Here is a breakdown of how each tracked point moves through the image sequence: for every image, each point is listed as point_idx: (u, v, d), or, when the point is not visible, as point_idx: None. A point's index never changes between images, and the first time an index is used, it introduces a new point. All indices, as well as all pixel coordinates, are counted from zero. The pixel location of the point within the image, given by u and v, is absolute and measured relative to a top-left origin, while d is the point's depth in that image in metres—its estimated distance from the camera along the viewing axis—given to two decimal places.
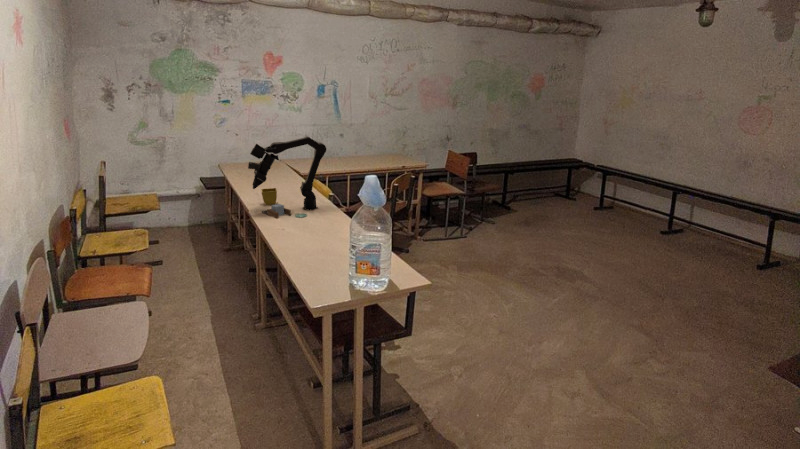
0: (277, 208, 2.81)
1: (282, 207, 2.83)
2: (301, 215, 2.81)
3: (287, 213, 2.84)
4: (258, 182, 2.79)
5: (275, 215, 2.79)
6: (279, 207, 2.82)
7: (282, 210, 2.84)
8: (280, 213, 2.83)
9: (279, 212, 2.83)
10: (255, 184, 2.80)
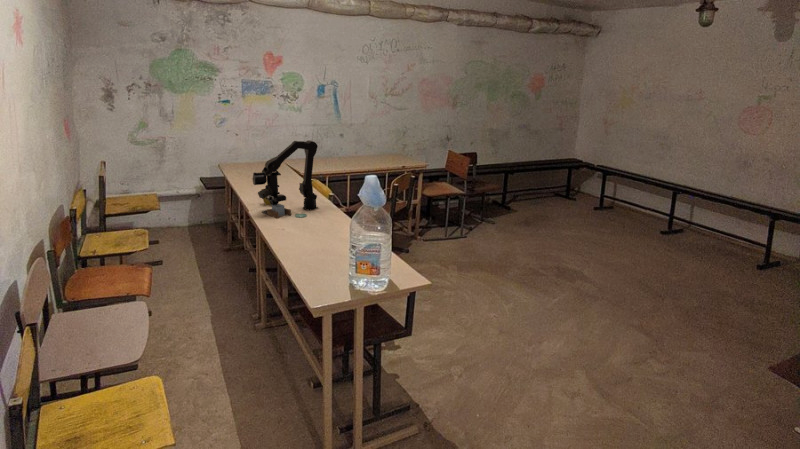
0: (278, 208, 2.80)
1: (283, 207, 2.83)
2: (301, 215, 2.81)
3: (287, 213, 2.84)
4: (275, 202, 2.85)
5: (275, 215, 2.79)
6: (280, 207, 2.81)
7: (282, 210, 2.83)
8: (280, 213, 2.83)
9: (279, 212, 2.82)
10: None
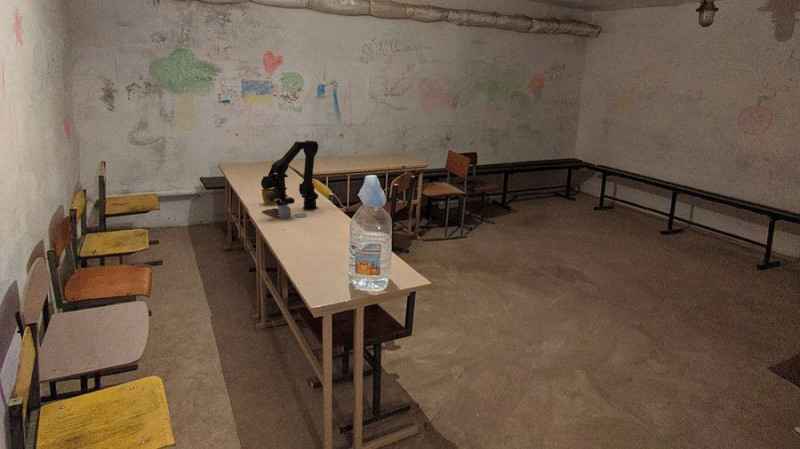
0: (283, 212, 2.75)
1: (289, 211, 2.76)
2: (301, 215, 2.81)
3: None
4: None
5: (275, 215, 2.79)
6: (286, 211, 2.75)
7: (288, 214, 2.77)
8: (285, 216, 2.78)
9: (285, 215, 2.77)
10: None
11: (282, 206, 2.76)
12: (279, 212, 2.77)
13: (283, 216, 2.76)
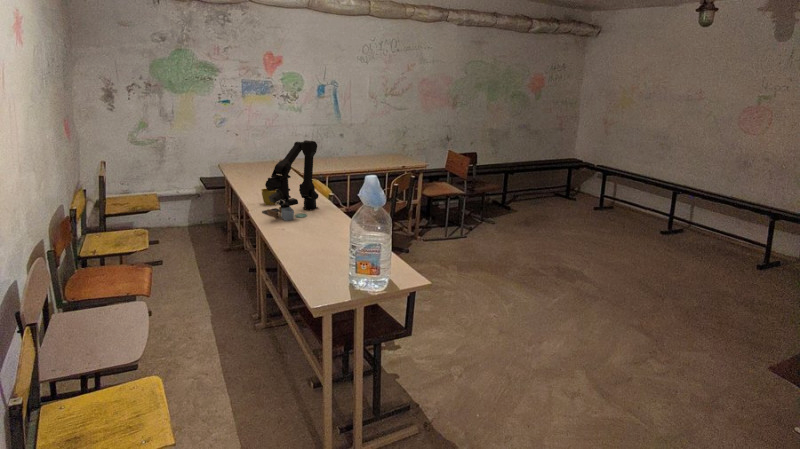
0: (286, 213, 2.72)
1: (292, 212, 2.74)
2: (301, 215, 2.81)
3: None
4: (287, 206, 2.78)
5: (275, 215, 2.79)
6: (288, 212, 2.72)
7: (291, 215, 2.74)
8: (289, 218, 2.74)
9: (288, 217, 2.73)
10: None
11: (285, 208, 2.74)
12: (282, 215, 2.74)
13: (286, 218, 2.73)
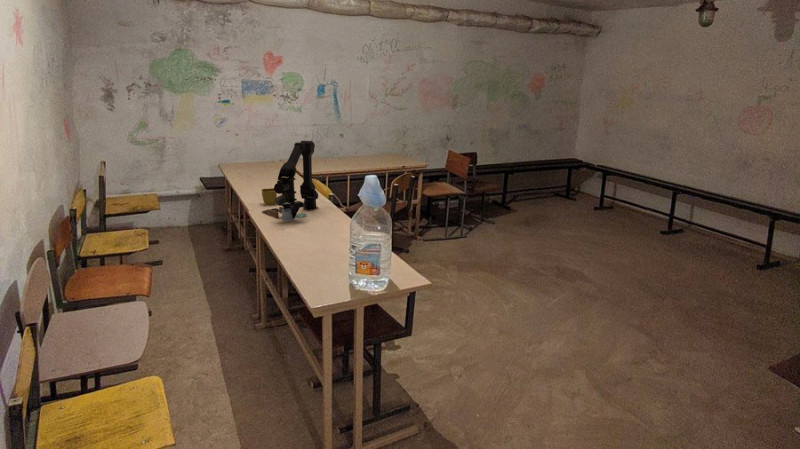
0: (286, 213, 2.72)
1: None
2: (301, 215, 2.81)
3: None
4: (295, 210, 2.72)
5: (275, 215, 2.79)
6: (289, 212, 2.72)
7: None
8: (290, 218, 2.73)
9: (289, 217, 2.73)
10: (294, 213, 2.73)
11: (285, 209, 2.75)
12: (283, 216, 2.74)
13: (287, 218, 2.73)
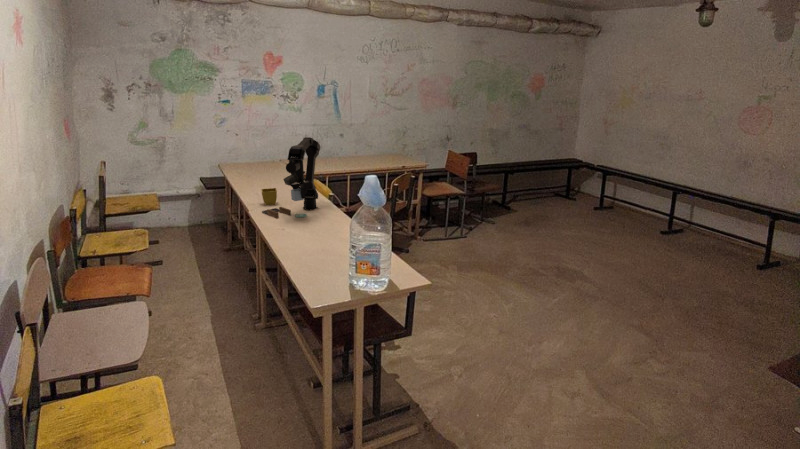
0: (295, 193, 2.75)
1: None
2: (301, 215, 2.81)
3: (287, 213, 2.84)
4: (304, 190, 2.76)
5: (275, 215, 2.79)
6: (298, 192, 2.75)
7: None
8: (299, 198, 2.77)
9: (298, 197, 2.76)
10: (303, 193, 2.76)
11: (294, 189, 2.78)
12: (292, 196, 2.77)
13: (296, 198, 2.76)
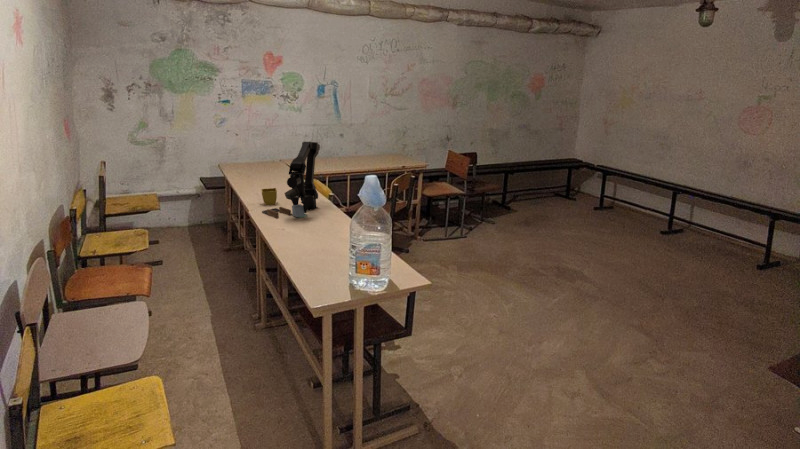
0: (297, 209, 2.77)
1: (302, 208, 2.79)
2: None
3: (287, 213, 2.84)
4: (307, 204, 2.77)
5: (275, 215, 2.79)
6: (299, 208, 2.78)
7: (302, 211, 2.80)
8: (300, 214, 2.79)
9: (299, 213, 2.79)
10: (305, 208, 2.77)
11: (295, 205, 2.81)
12: (293, 212, 2.80)
13: (297, 213, 2.78)
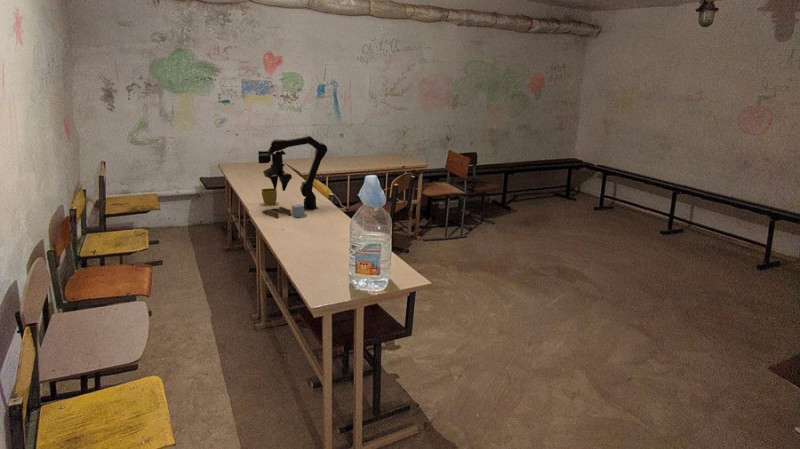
0: (297, 209, 2.77)
1: (302, 208, 2.79)
2: None
3: (287, 213, 2.84)
4: (285, 182, 2.84)
5: (275, 215, 2.79)
6: (299, 208, 2.78)
7: (302, 211, 2.80)
8: (300, 214, 2.79)
9: (299, 213, 2.79)
10: (284, 186, 2.85)
11: (295, 205, 2.81)
12: (293, 212, 2.80)
13: (297, 213, 2.78)
